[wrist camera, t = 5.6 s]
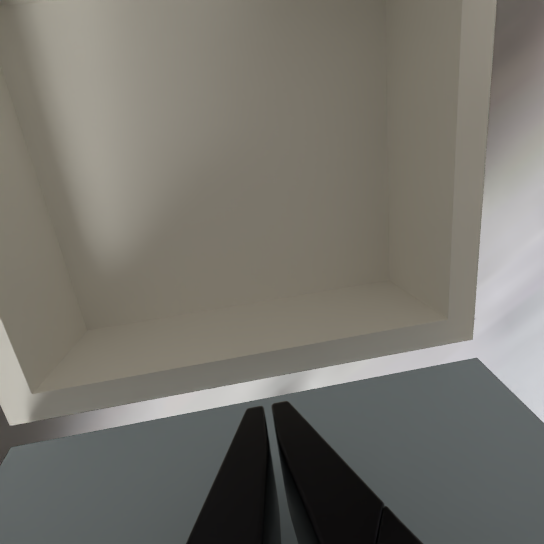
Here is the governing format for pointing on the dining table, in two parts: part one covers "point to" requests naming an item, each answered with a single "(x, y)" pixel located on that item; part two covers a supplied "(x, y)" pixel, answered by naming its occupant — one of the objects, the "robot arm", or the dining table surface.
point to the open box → (233, 190)
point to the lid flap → (327, 422)
